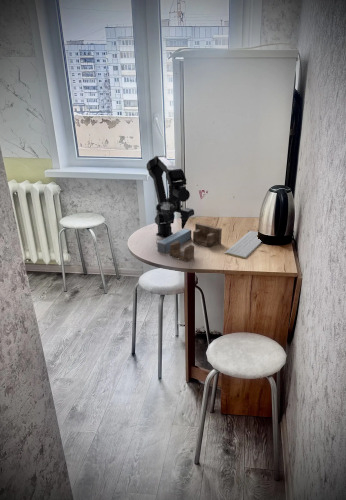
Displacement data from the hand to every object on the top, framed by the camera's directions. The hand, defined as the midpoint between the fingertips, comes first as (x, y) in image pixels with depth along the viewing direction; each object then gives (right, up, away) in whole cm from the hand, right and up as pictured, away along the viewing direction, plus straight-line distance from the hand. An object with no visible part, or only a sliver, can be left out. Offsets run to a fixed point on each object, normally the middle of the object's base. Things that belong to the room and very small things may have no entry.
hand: (174, 226), depth 187 cm
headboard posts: (+9, -11, -2) cm, 14 cm away
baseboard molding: (+35, -9, +4) cm, 37 cm away
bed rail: (0, -9, +4) cm, 10 cm away
